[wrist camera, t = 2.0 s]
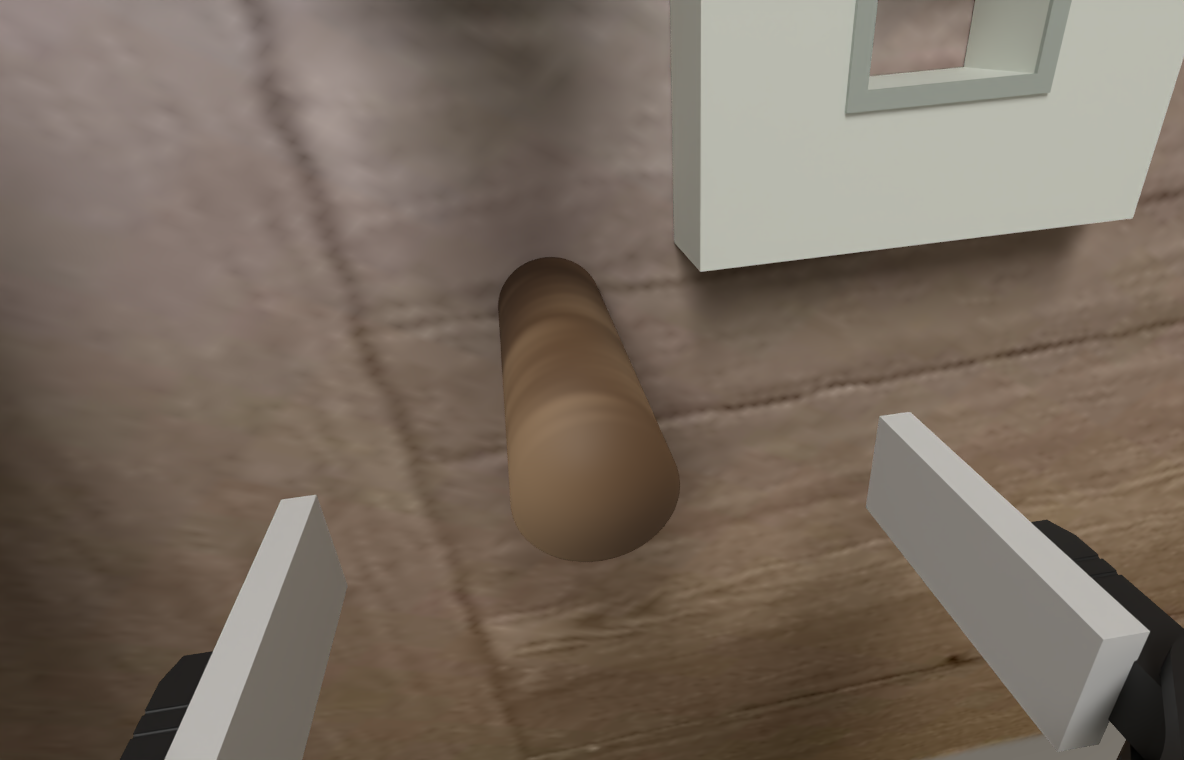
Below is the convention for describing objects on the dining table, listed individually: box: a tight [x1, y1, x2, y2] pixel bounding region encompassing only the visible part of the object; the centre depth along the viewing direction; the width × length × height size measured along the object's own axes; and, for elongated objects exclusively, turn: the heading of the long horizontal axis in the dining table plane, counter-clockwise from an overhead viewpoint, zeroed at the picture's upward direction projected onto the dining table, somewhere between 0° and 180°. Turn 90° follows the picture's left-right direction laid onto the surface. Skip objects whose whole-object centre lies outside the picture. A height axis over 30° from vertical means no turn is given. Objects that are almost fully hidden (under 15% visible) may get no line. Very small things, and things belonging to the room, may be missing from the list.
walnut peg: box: [498, 257, 680, 562], centre depth 21 cm, size 4×4×12 cm
